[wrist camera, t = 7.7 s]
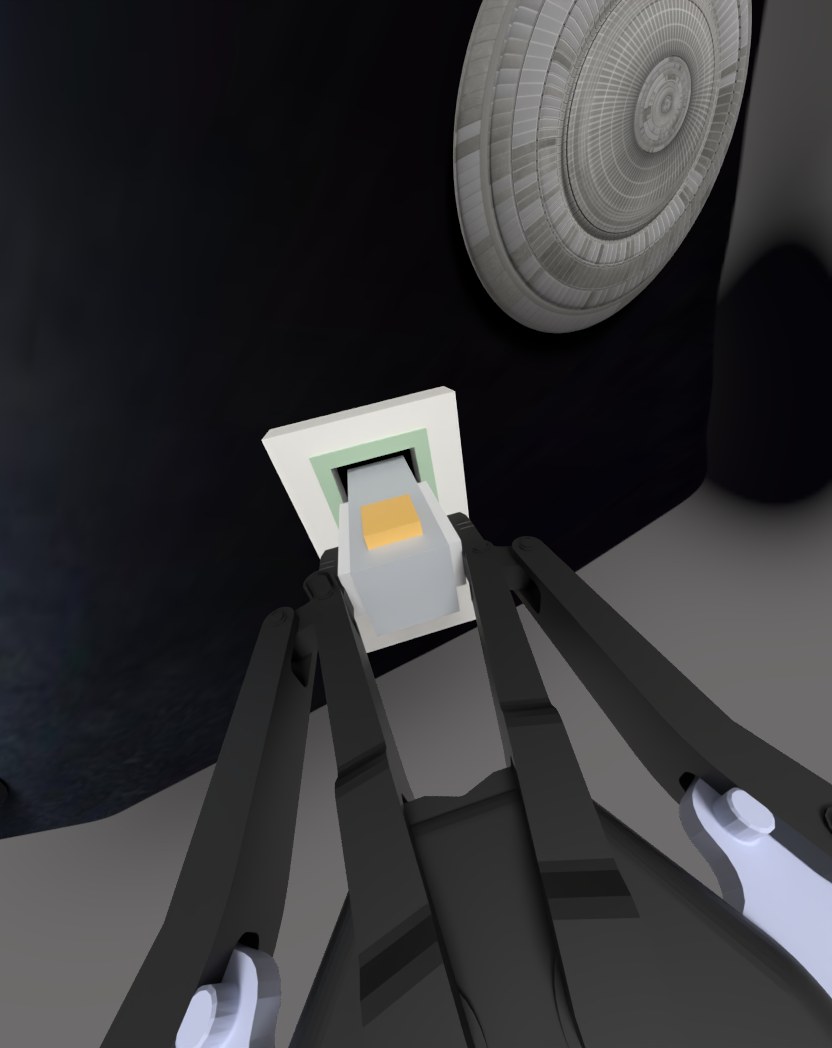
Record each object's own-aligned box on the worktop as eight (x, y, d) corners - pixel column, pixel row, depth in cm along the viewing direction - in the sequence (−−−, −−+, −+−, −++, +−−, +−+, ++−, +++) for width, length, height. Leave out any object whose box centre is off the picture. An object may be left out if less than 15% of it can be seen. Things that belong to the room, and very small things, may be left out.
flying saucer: (460, -162, 11) (547, -529, 6) (766, -46, 14) (979, -239, 9) (435, 329, 19) (466, 325, 14) (633, 337, 22) (711, 336, 17)
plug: (363, 517, 23) (377, 636, 14) (344, 460, 20) (344, 560, 11) (413, 503, 23) (459, 611, 14) (400, 445, 20) (446, 531, 11)
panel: (365, 632, 32) (366, 654, 29) (270, 429, 19) (260, 440, 17) (471, 600, 32) (480, 619, 30) (443, 386, 20) (455, 391, 18)
